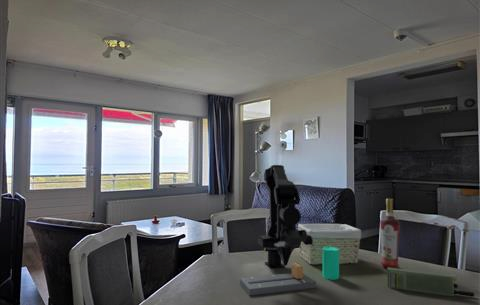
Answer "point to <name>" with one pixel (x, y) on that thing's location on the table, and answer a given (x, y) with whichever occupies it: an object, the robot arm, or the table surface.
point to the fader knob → (297, 270)
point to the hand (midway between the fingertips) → (285, 265)
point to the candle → (330, 263)
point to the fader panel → (275, 283)
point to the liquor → (389, 237)
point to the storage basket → (331, 242)
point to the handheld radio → (423, 282)
